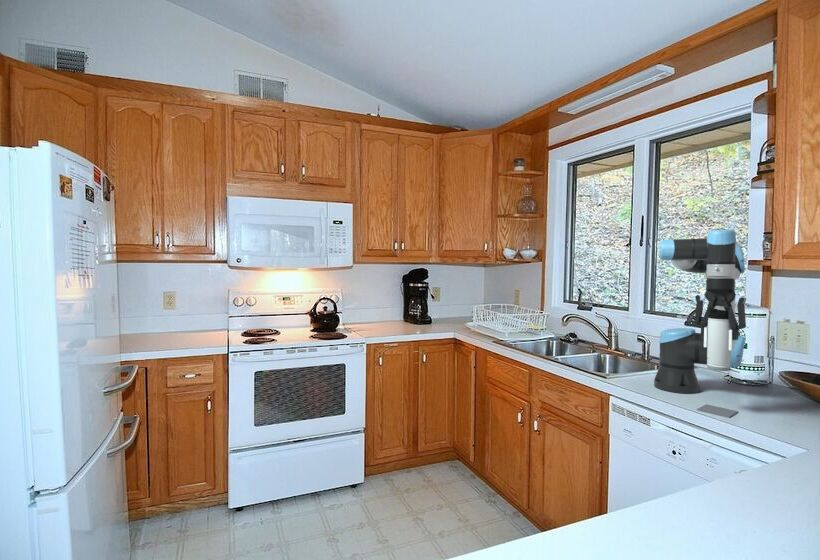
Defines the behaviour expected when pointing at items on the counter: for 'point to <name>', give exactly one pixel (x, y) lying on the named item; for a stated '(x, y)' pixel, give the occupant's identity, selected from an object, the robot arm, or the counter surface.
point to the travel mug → (718, 340)
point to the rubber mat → (717, 410)
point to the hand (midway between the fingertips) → (718, 348)
